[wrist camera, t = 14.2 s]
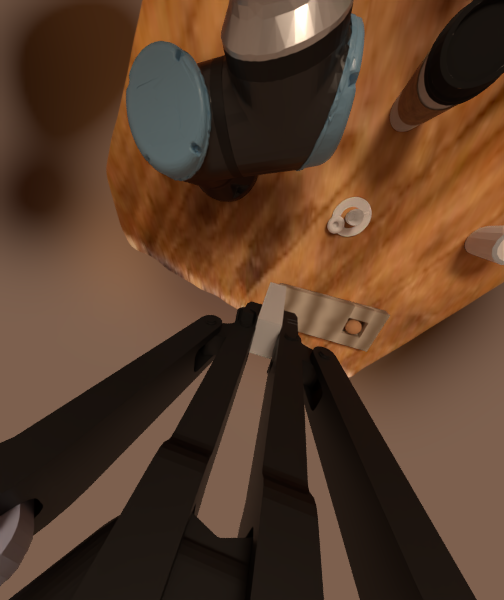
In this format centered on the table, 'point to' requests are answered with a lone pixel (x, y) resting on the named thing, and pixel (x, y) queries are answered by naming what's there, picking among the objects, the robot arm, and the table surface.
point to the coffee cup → (454, 65)
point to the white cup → (487, 243)
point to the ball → (353, 326)
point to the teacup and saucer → (350, 217)
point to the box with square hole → (333, 317)
